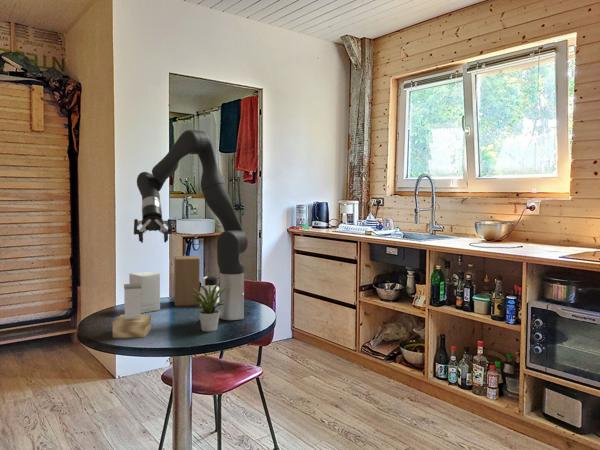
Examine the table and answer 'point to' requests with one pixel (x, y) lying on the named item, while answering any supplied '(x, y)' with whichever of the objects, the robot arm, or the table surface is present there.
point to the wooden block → (186, 280)
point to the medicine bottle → (212, 282)
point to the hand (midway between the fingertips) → (153, 241)
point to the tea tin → (132, 301)
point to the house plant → (209, 308)
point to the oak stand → (131, 327)
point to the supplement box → (148, 289)
